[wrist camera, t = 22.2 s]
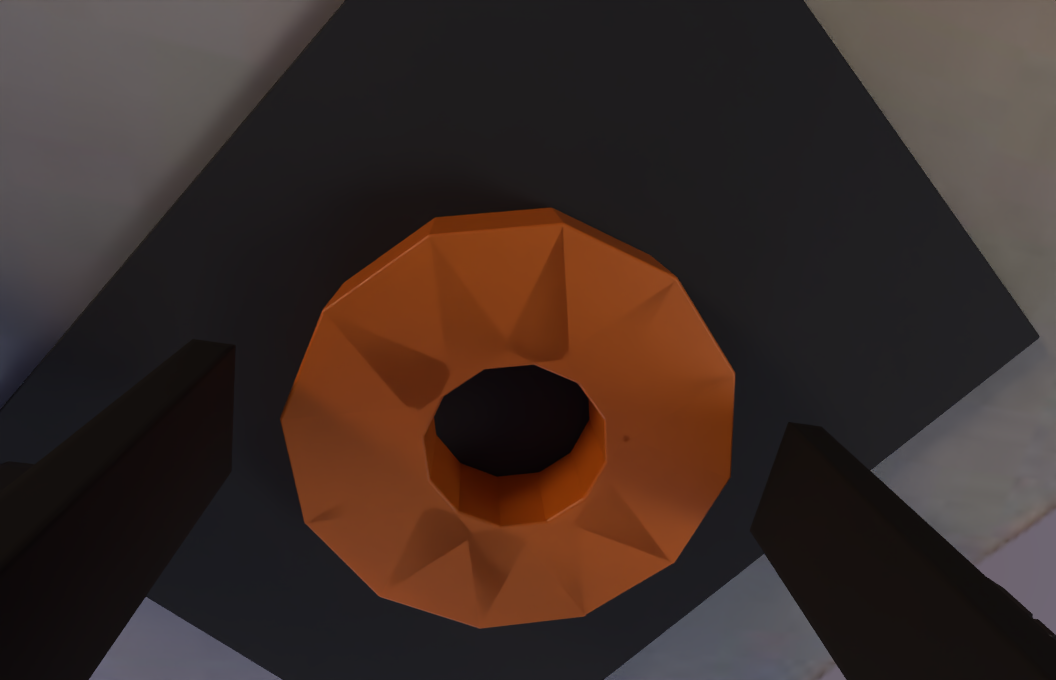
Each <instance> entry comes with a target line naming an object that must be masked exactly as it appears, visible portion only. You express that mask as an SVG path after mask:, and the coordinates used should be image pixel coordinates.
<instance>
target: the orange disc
mask: <svg viewBox="0 0 1056 680" xmlns="http://www.w3.org/2000/svg"><path fill="white" fill-rule="evenodd" d="M524 365H536V366H538V367H541V368H543V369H545V370H548V371H550V372H552V373H555V374H557V375H560V376H562V377H564V378H567V379H569V380H571V381H574V382H576V383H578V384H579V386H580V387H581V389H582V390H583V391H584V393H585V394H586V396H587V397H588V398H589V421H588V423H587V424H586V426H585V428H584V430H583V431H582V433H581V435H580V437H579V439H578V440H577V442H576V444H575V446H574V448H573V449H572V451H571V453H569V454H567V455H566V456H564V457H563V458H561V459H559V460H558V461H556V462H555V463H553V464H552V465H550V466H548V467H547V468H545V469H544V470H542V471H540V472H537V473H528V474H518V475H508V476H499V477H496V476H494V475H491V474H488V473H486V472H483V471H480V470H478V469H475V468H472V467H470V466H467V465H464V464H462V463H460V462H459V461H458V460H457V458H456V457H455V456H454V455H453V454H452V453H451V451H450V450H449V449H448V448H447V447H446V446H445V444H444V443H443V442H442V441H441V440H440V438H439V437H438V436H437V435H436V429H435V422H434V416H435V413H436V411H437V409H438V407H439V405H440V403H441V401H442V399H443V397H444V396H445V395H447V394H448V393H450V392H451V391H453V390H454V389H456V388H457V387H459V386H460V385H462V384H463V383H465V382H466V381H468V380H469V379H471V378H472V377H474V376H475V375H477V374H478V373H480V372H481V371H483V370H484V369H493V368H504V367H514V366H524ZM734 393H735V371H734V370H733V368H732V366H731V365H730V363H729V361H728V360H727V358H726V356H725V355H724V353H723V352H722V350H721V348H720V347H719V345H718V343H717V342H716V340H715V338H714V337H713V335H712V333H711V332H710V330H709V329H708V327H707V325H706V324H705V322H704V320H703V319H702V317H701V315H700V314H699V312H698V310H697V309H696V307H695V305H694V304H693V302H692V301H691V299H690V297H689V296H688V294H687V292H686V291H685V289H684V287H683V286H682V284H681V282H680V281H679V279H678V278H677V277H676V276H675V275H674V274H673V273H671V272H670V271H669V270H668V269H667V268H665V267H664V266H663V265H662V264H660V263H659V262H658V261H657V260H656V259H654V258H653V257H652V256H651V255H649V254H647V253H645V252H643V251H641V250H639V249H636V248H634V247H632V246H630V245H628V244H626V243H624V242H622V241H620V240H618V239H616V238H614V237H612V236H610V235H608V234H606V233H603V232H601V231H599V230H597V229H595V228H593V227H591V226H589V225H587V224H585V223H583V222H581V221H579V220H577V219H575V218H573V217H570V216H568V215H566V214H564V213H562V212H560V211H558V210H556V209H554V208H539V209H527V210H515V211H504V212H492V213H480V214H468V215H457V216H445V217H436V218H434V219H432V220H431V221H429V222H428V223H427V224H425V225H424V226H422V227H421V228H420V229H418V230H417V231H415V232H414V233H413V234H411V235H410V236H408V237H407V238H406V239H404V240H403V241H401V242H400V243H399V244H397V245H396V246H394V247H393V248H392V249H390V250H389V251H387V252H386V253H385V254H383V255H382V256H380V257H379V258H378V259H376V260H375V261H373V262H372V263H371V264H369V265H368V266H366V267H365V268H364V269H362V270H361V271H359V272H358V273H357V274H355V275H354V276H352V277H351V278H350V279H348V280H347V281H345V282H344V283H343V284H342V286H341V287H340V288H339V289H338V291H337V292H336V293H335V295H334V296H333V297H332V298H331V300H330V301H329V302H328V303H327V305H326V306H325V307H324V308H323V310H322V312H321V315H320V317H319V320H318V322H317V325H316V328H315V330H314V333H313V335H312V338H311V340H310V343H309V345H308V348H307V350H306V353H305V355H304V358H303V360H302V363H301V365H300V368H299V371H298V373H297V376H296V378H295V381H294V383H293V386H292V388H291V391H290V393H289V396H288V398H287V401H286V403H285V406H284V409H283V411H282V414H281V416H280V421H281V425H282V430H283V434H284V438H285V442H286V447H287V451H288V455H289V459H290V464H291V468H292V472H293V477H294V481H295V485H296V489H297V494H298V498H299V502H300V506H301V511H302V515H303V519H304V523H305V524H306V525H307V526H308V527H309V528H310V529H311V530H312V531H313V532H314V533H315V534H317V535H318V536H319V537H320V538H321V539H322V540H323V541H324V542H325V543H326V544H327V545H328V546H329V547H330V548H331V549H332V550H333V551H334V552H335V553H336V554H337V555H338V556H339V557H340V558H341V559H342V560H343V561H344V562H345V563H346V564H347V565H348V566H349V567H350V568H351V569H352V570H353V571H354V572H355V573H356V574H357V575H358V576H359V577H360V578H361V579H362V580H363V581H364V582H365V583H366V584H367V585H368V586H369V587H370V588H371V589H372V590H373V591H374V592H375V593H376V594H377V595H378V596H379V597H382V598H385V599H388V600H391V601H394V602H398V603H401V604H404V605H407V606H410V607H413V608H417V609H420V610H423V611H426V612H429V613H432V614H436V615H439V616H442V617H445V618H448V619H451V620H455V621H458V622H461V623H464V624H467V625H470V626H474V627H477V628H479V629H481V628H489V627H498V626H507V625H515V624H524V623H532V622H541V621H550V620H558V619H567V618H576V617H584V616H586V614H588V613H589V612H591V611H593V610H595V609H596V608H598V607H600V606H601V605H603V604H605V603H606V602H608V601H610V600H612V599H613V598H615V597H617V596H618V595H620V594H622V593H624V592H625V591H627V590H629V589H630V588H632V587H634V586H635V585H637V584H639V583H641V582H642V581H644V580H646V579H647V578H649V577H651V576H652V575H654V574H656V573H658V572H659V571H661V570H663V569H664V568H666V567H668V566H669V565H671V564H673V563H675V561H676V560H677V558H678V557H679V555H680V554H681V552H682V551H683V549H684V548H685V546H686V545H687V543H688V542H689V540H690V539H691V537H692V535H693V534H694V532H695V531H696V529H697V528H698V526H699V525H700V523H701V522H702V520H703V519H704V517H705V516H706V514H707V513H708V511H709V510H710V508H711V507H712V505H713V503H714V502H715V500H716V499H717V497H718V496H719V494H720V493H721V491H722V490H723V488H724V487H725V485H726V484H727V482H728V481H729V479H730V478H731V460H732V438H733V415H734Z"/></svg>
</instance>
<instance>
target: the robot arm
mask: <svg viewBox="0 0 1056 680" xmlns="http://www.w3.org/2000/svg"><path fill="white" fill-rule="evenodd" d="M235 351H236V345H233V344H226V343H219V342H212V341H204V340H197V339H192V340H191V341H189V342H188V343H187V344H186V345H184V346H183V347H182V348H181V349H179V350H178V351H177V352H176V353H174V354H173V355H172V356H171V357H169V358H168V359H167V360H166V361H164V362H163V363H162V364H160V365H159V366H158V367H157V368H155V369H154V370H153V371H152V372H150V373H149V374H148V375H147V376H145V377H144V378H143V379H142V380H140V381H139V382H138V383H137V384H135V385H134V386H133V387H132V388H130V389H129V390H128V391H126V392H125V393H124V394H123V395H121V396H120V397H119V398H118V399H116V400H115V401H114V402H113V403H111V404H110V405H109V406H108V407H106V408H105V409H104V410H103V411H101V412H100V413H99V414H98V415H96V416H95V417H94V418H92V419H91V420H90V421H89V422H87V423H86V424H85V425H84V426H82V427H81V428H80V429H79V430H77V431H76V432H75V433H74V434H72V435H71V436H70V437H69V438H67V439H66V440H65V441H64V442H62V443H61V444H60V445H58V446H57V447H56V448H55V449H53V450H52V451H51V452H50V453H48V454H47V455H46V456H45V457H43V458H42V459H41V460H40V461H38V462H37V463H36V464H29V463H20V462H11V461H8V462H5V463H3V464H0V680H89V678H90V677H91V675H92V674H93V673H94V671H95V670H96V668H97V667H98V665H99V664H100V662H101V661H102V659H103V658H104V656H105V655H106V654H107V652H108V651H109V649H110V648H111V646H112V645H113V643H114V642H115V640H116V639H117V638H118V636H119V635H120V633H121V632H122V630H123V629H124V627H125V626H126V624H127V623H128V622H129V620H130V619H131V617H132V616H133V614H134V613H135V611H136V610H137V608H138V607H139V605H140V604H141V603H142V601H143V600H144V598H145V597H146V595H147V594H148V592H149V591H150V589H151V588H152V587H153V585H154V584H155V582H156V581H157V579H158V578H159V576H160V575H161V573H162V572H163V571H164V569H165V568H166V566H167V565H168V563H169V562H170V560H171V559H172V557H173V556H174V555H175V553H176V552H177V550H178V549H179V547H180V546H181V544H182V543H183V541H184V540H185V538H186V537H187V536H188V534H189V533H190V531H191V530H192V528H193V527H194V525H195V524H196V522H197V521H198V520H199V518H200V517H201V515H202V514H203V512H204V511H205V509H206V508H207V506H208V505H209V504H210V502H211V501H212V499H213V498H214V496H215V495H216V493H217V492H218V490H219V489H220V487H221V486H222V485H223V483H224V482H225V480H226V479H227V477H228V476H229V474H230V473H231V470H232V440H233V410H234V380H235ZM750 532H751V533H752V535H753V537H754V538H755V540H756V541H757V543H758V544H759V546H760V547H761V549H762V550H763V552H764V553H765V555H766V557H767V558H768V560H769V561H770V563H771V564H772V566H773V567H774V569H775V570H776V572H777V573H778V575H779V577H780V578H781V580H782V581H783V583H784V584H785V586H786V587H787V589H788V590H789V592H790V593H791V595H792V597H793V598H794V600H795V601H796V603H797V604H798V606H799V607H800V609H801V610H802V612H803V614H804V615H805V617H806V618H807V620H808V621H809V623H810V624H811V626H812V627H813V629H814V630H815V632H816V634H817V635H818V637H819V638H820V640H821V641H822V643H823V644H824V646H825V647H826V649H827V650H828V652H829V654H830V655H831V657H832V658H833V660H834V661H835V663H836V664H837V666H838V667H839V669H840V670H841V672H842V673H843V675H844V677H845V678H846V679H847V680H1056V635H1055V634H1054V633H1053V632H1052V631H1051V630H1049V629H1048V628H1047V627H1046V626H1045V625H1044V624H1043V623H1042V622H1041V621H1039V620H1038V619H1033V617H1032V613H1031V612H1030V611H1028V610H1027V609H1026V608H1025V607H1024V606H1023V605H1022V604H1021V603H1020V602H1018V601H1017V600H1016V599H1015V598H1014V597H1013V596H1012V595H1011V594H1010V593H1008V592H1007V591H1006V590H1005V589H1004V588H1003V587H1001V586H1000V585H998V584H996V583H995V582H993V581H992V580H990V579H989V578H987V577H985V575H984V574H982V573H981V572H980V571H979V570H978V569H977V568H976V567H975V566H974V565H973V564H972V563H970V562H969V561H968V560H967V559H966V558H965V557H964V556H963V555H962V554H961V553H959V552H958V551H957V550H956V549H955V548H954V547H953V546H952V545H951V544H950V543H949V542H947V541H946V540H945V539H944V538H943V537H942V536H941V535H940V534H939V533H938V532H937V531H935V530H934V529H933V528H932V527H931V526H930V525H929V524H928V523H927V522H926V521H924V520H923V519H922V518H921V517H920V516H919V515H918V514H917V513H916V512H915V511H914V510H912V509H911V508H910V507H909V506H908V505H907V504H906V503H905V502H904V501H903V500H902V499H900V498H899V497H898V496H897V495H896V494H895V493H894V492H893V491H892V490H891V489H889V488H888V487H887V486H886V485H885V484H884V483H883V482H882V481H881V480H880V479H879V478H877V477H876V476H875V475H874V474H873V473H872V472H871V471H870V470H869V469H868V468H866V467H865V466H864V465H863V464H862V463H861V462H860V461H859V460H858V459H857V458H856V457H854V456H853V455H852V454H851V453H850V452H849V451H848V450H847V449H846V448H845V447H844V446H842V445H841V444H840V443H839V442H838V441H837V440H836V439H835V438H834V437H833V436H831V435H830V434H829V433H828V432H827V431H826V430H825V429H824V428H823V427H822V426H814V425H807V424H800V423H793V422H788V424H787V427H786V430H785V432H784V435H783V438H782V441H781V444H780V447H779V449H778V452H777V455H776V458H775V461H774V463H773V466H772V469H771V472H770V475H769V477H768V480H767V483H766V486H765V489H764V491H763V494H762V497H761V500H760V503H759V505H758V508H757V511H756V514H755V517H754V520H753V522H752V525H751V528H750Z"/></svg>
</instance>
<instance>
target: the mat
mask: <svg viewBox="0 0 1056 680" xmlns="http://www.w3.org/2000/svg"><path fill="white" fill-rule="evenodd" d="M539 208H554V209H556V210H558V211H560V212H562V213H564V214H566V215H568V216H570V217H573V218H575V219H577V220H579V221H581V222H583V223H585V224H587V225H589V226H591V227H593V228H595V229H597V230H599V231H601V232H603V233H606V234H608V235H610V236H612V237H614V238H616V239H618V240H620V241H622V242H624V243H626V244H628V245H630V246H632V247H634V248H636V249H639V250H641V251H643V252H645V253H647V254H649V255H651V256H652V257H653V258H654V259H656V260H657V261H658V262H659V263H660V264H662V265H663V266H664V267H665V268H667V269H668V270H669V271H670V272H671V273H673V274H674V275H675V276H676V277H677V278H678V279H679V281H680V282H681V284H682V286H683V287H684V289H685V291H686V292H687V294H688V296H689V297H690V299H691V301H692V302H693V304H694V305H695V307H696V309H697V310H698V312H699V314H700V315H701V317H702V319H703V320H704V322H705V324H706V325H707V327H708V329H709V330H710V332H711V333H712V335H713V337H714V338H715V340H716V342H717V343H718V345H719V347H720V348H721V350H722V352H723V353H724V355H725V356H726V358H727V360H728V361H729V363H730V365H731V366H732V368H733V370H734V371H735V393H734V415H733V438H732V460H731V478H730V479H729V481H728V482H727V484H726V485H725V487H724V488H723V490H722V491H721V493H720V494H719V496H718V497H717V499H716V500H715V502H714V503H713V505H712V507H711V508H710V510H709V511H708V513H707V514H706V516H705V517H704V519H703V520H702V522H701V523H700V525H699V526H698V528H697V529H696V531H695V532H694V534H693V535H692V537H691V539H690V540H689V542H688V543H687V545H686V546H685V548H684V549H683V551H682V552H681V554H680V555H679V557H678V558H677V560H676V561H675V563H673V564H671V565H669V566H668V567H666V568H664V569H663V570H661V571H659V572H658V573H656V574H654V575H652V576H651V577H649V578H647V579H646V580H644V581H642V582H641V583H639V584H637V585H635V586H634V587H632V588H630V589H629V590H627V591H625V592H624V593H622V594H620V595H618V596H617V597H615V598H613V599H612V600H610V601H608V602H606V603H605V604H603V605H601V606H600V607H598V608H596V609H595V610H593V611H591V612H589V613H588V614H586V616H584V617H576V618H567V619H558V620H550V621H541V622H532V623H524V624H515V625H507V626H498V627H489V628H481V629H479V628H477V627H474V626H470V625H467V624H464V623H461V622H458V621H455V620H451V619H448V618H445V617H442V616H439V615H436V614H432V613H429V612H426V611H423V610H420V609H417V608H413V607H410V606H407V605H404V604H401V603H398V602H394V601H391V600H388V599H385V598H382V597H379V596H378V595H377V594H376V593H375V592H374V591H373V590H372V589H371V588H370V587H369V586H368V585H367V584H366V583H365V582H364V581H363V580H362V579H361V578H360V577H359V576H358V575H357V574H356V573H355V572H354V571H353V570H352V569H351V568H350V567H349V566H348V565H347V564H346V563H345V562H344V561H343V560H342V559H341V558H340V557H339V556H338V555H337V554H336V553H335V552H334V551H333V550H332V549H331V548H330V547H329V546H328V545H327V544H326V543H325V542H324V541H323V540H322V539H321V538H320V537H319V536H318V535H317V534H315V533H314V532H313V531H312V530H311V529H310V528H309V527H308V526H307V525H306V524H305V523H304V519H303V515H302V511H301V506H300V502H299V498H298V494H297V489H296V485H295V481H294V477H293V472H292V468H291V464H290V459H289V455H288V451H287V447H286V442H285V438H284V434H283V430H282V425H281V421H280V416H281V414H282V411H283V409H284V406H285V403H286V401H287V398H288V396H289V393H290V391H291V388H292V386H293V383H294V381H295V378H296V376H297V373H298V371H299V368H300V365H301V363H302V360H303V358H304V355H305V353H306V350H307V348H308V345H309V343H310V340H311V338H312V335H313V333H314V330H315V328H316V325H317V322H318V320H319V317H320V315H321V312H322V310H323V308H324V307H325V306H326V305H327V303H328V302H329V301H330V300H331V298H332V297H333V296H334V295H335V293H336V292H337V291H338V289H339V288H340V287H341V286H342V284H343V283H344V282H345V281H347V280H348V279H350V278H351V277H352V276H354V275H355V274H357V273H358V272H359V271H361V270H362V269H364V268H365V267H366V266H368V265H369V264H371V263H372V262H373V261H375V260H376V259H378V258H379V257H380V256H382V255H383V254H385V253H386V252H387V251H389V250H390V249H392V248H393V247H394V246H396V245H397V244H399V243H400V242H401V241H403V240H404V239H406V238H407V237H408V236H410V235H411V234H413V233H414V232H415V231H417V230H418V229H420V228H421V227H422V226H424V225H425V224H427V223H428V222H429V221H431V220H432V219H434V218H436V217H445V216H457V215H468V214H480V213H492V212H504V211H515V210H527V209H539ZM1038 338H1039V335H1038V333H1037V332H1036V330H1035V329H1034V328H1033V326H1032V325H1031V323H1030V322H1029V321H1028V319H1027V318H1026V316H1025V315H1024V313H1023V312H1022V311H1021V309H1020V308H1019V306H1018V305H1017V303H1016V302H1015V301H1014V299H1013V298H1012V296H1011V295H1010V293H1009V292H1008V291H1007V289H1006V288H1005V286H1004V285H1003V284H1002V282H1001V281H1000V279H999V278H998V276H997V275H996V274H995V272H994V271H993V269H992V268H991V266H990V265H989V264H988V262H987V261H986V259H985V258H984V257H983V255H982V254H981V252H980V251H979V249H978V248H977V247H976V245H975V244H974V242H973V241H972V239H971V238H970V237H969V235H968V234H967V232H966V231H965V230H964V228H963V227H962V225H961V224H960V222H959V221H958V220H957V218H956V217H955V215H954V214H953V212H952V211H951V210H950V208H949V207H948V205H947V204H946V202H945V201H944V200H943V198H942V197H941V195H940V194H939V193H938V191H937V190H936V188H935V187H934V185H933V184H932V183H931V181H930V180H929V178H928V177H927V175H926V174H925V173H924V171H923V170H922V168H921V167H920V166H919V164H918V163H917V161H916V160H915V158H914V157H913V156H912V154H911V153H910V151H909V150H908V148H907V147H906V146H905V144H904V143H903V141H902V140H901V139H900V137H899V136H898V134H897V133H896V131H895V130H894V129H893V127H892V126H891V124H890V123H889V121H888V120H887V119H886V117H885V116H884V114H883V113H882V111H881V110H880V109H879V107H878V106H877V104H876V103H875V102H874V100H873V99H872V97H871V96H870V94H869V93H868V92H867V90H866V89H865V87H864V86H863V84H862V83H861V82H860V80H859V79H858V77H857V76H856V75H855V73H854V72H853V70H852V69H851V67H850V66H849V65H848V63H847V62H846V60H845V59H844V57H843V56H842V55H841V53H840V52H839V50H838V49H837V48H836V46H835V45H834V43H833V42H832V40H831V39H830V38H829V36H828V35H827V33H826V32H825V30H824V29H823V28H822V26H821V25H820V23H819V22H818V20H817V19H816V18H815V16H814V15H813V13H812V12H811V11H810V9H809V8H808V6H807V5H806V3H805V2H804V1H803V0H345V1H344V3H343V4H342V5H341V6H340V7H339V9H338V10H337V11H336V12H335V13H334V14H333V16H332V17H331V18H330V19H329V20H328V22H327V23H326V24H325V25H324V26H323V28H322V29H321V30H320V31H319V32H318V33H317V35H316V36H315V37H314V38H313V39H312V41H311V42H310V43H309V44H308V45H307V47H306V48H305V49H304V50H303V51H302V52H301V54H300V55H299V56H298V57H297V58H296V60H295V61H294V62H293V63H292V64H291V66H290V67H289V68H288V69H287V70H286V71H285V73H284V74H283V75H282V76H281V77H280V79H279V80H278V81H277V82H276V83H275V84H274V86H273V87H272V88H271V89H270V90H269V92H268V93H267V94H266V95H265V96H264V98H263V99H262V100H261V101H260V102H259V103H258V105H257V106H256V107H255V108H254V109H253V111H252V112H251V113H250V114H249V115H248V117H247V118H246V119H245V120H244V121H243V122H242V124H241V125H240V126H239V127H238V128H237V130H236V131H235V132H234V133H233V134H232V136H231V137H230V138H229V139H228V140H227V141H226V143H225V144H224V145H223V146H222V147H221V149H220V150H219V151H218V152H217V153H216V155H215V156H214V157H213V158H212V159H211V160H210V162H209V163H208V164H207V165H206V166H205V168H204V169H203V170H202V171H201V172H200V174H199V175H198V176H197V177H196V178H195V179H194V181H193V182H192V183H191V184H190V185H189V187H188V188H187V189H186V190H185V191H184V193H183V194H182V195H181V196H180V197H179V198H178V200H177V201H176V202H175V203H174V204H173V206H172V207H171V208H170V209H169V210H168V212H167V213H166V214H165V215H164V216H163V217H162V219H161V220H160V221H159V222H158V223H157V225H156V226H155V227H154V228H153V229H152V230H151V232H150V233H149V234H148V235H147V236H146V238H145V239H144V240H143V241H142V242H141V244H140V245H139V246H138V247H137V248H136V249H135V251H134V252H133V253H132V254H131V255H130V257H129V258H128V259H127V260H126V261H125V263H124V264H123V265H122V266H121V267H120V268H119V270H118V271H117V272H116V273H115V274H114V276H113V277H112V278H111V279H110V280H109V282H108V283H107V284H106V285H105V286H104V287H103V289H102V290H101V291H100V292H99V293H98V295H97V296H96V297H95V298H94V299H93V301H92V302H91V303H90V304H89V305H88V306H87V308H86V309H85V310H84V311H83V312H82V314H81V315H80V316H79V317H78V318H77V320H76V321H75V322H74V323H73V324H72V325H71V327H70V328H69V329H68V330H67V331H66V333H65V334H64V335H63V336H62V337H61V339H60V340H59V341H58V342H57V343H56V344H55V346H54V347H53V348H52V349H51V350H50V352H49V353H48V354H47V355H46V356H45V358H44V359H43V360H42V361H41V362H40V363H39V365H38V366H37V367H36V368H35V369H34V371H33V372H32V373H31V374H30V375H29V376H28V378H27V379H26V380H25V381H24V382H23V384H22V385H21V386H20V387H19V388H18V390H17V391H16V392H15V393H14V394H13V395H12V397H11V398H10V399H9V400H8V401H7V403H6V404H5V405H4V406H3V407H2V409H1V410H0V464H3V463H5V462H8V461H11V462H20V463H29V464H36V463H37V462H38V461H40V460H41V459H42V458H43V457H45V456H46V455H47V454H48V453H50V452H51V451H52V450H53V449H55V448H56V447H57V446H58V445H60V444H61V443H62V442H64V441H65V440H66V439H67V438H69V437H70V436H71V435H72V434H74V433H75V432H76V431H77V430H79V429H80V428H81V427H82V426H84V425H85V424H86V423H87V422H89V421H90V420H91V419H92V418H94V417H95V416H96V415H98V414H99V413H100V412H101V411H103V410H104V409H105V408H106V407H108V406H109V405H110V404H111V403H113V402H114V401H115V400H116V399H118V398H119V397H120V396H121V395H123V394H124V393H125V392H126V391H128V390H129V389H130V388H132V387H133V386H134V385H135V384H137V383H138V382H139V381H140V380H142V379H143V378H144V377H145V376H147V375H148V374H149V373H150V372H152V371H153V370H154V369H155V368H157V367H158V366H159V365H160V364H162V363H163V362H164V361H166V360H167V359H168V358H169V357H171V356H172V355H173V354H174V353H176V352H177V351H178V350H179V349H181V348H182V347H183V346H184V345H186V344H187V343H188V342H189V341H191V340H192V339H197V340H204V341H212V342H219V343H226V344H233V345H236V351H235V380H234V410H233V440H232V470H231V473H230V474H229V476H228V477H227V479H226V480H225V482H224V483H223V485H222V486H221V487H220V489H219V490H218V492H217V493H216V495H215V496H214V498H213V499H212V501H211V502H210V504H209V505H208V506H207V508H206V509H205V511H204V512H203V514H202V515H201V517H200V518H199V520H198V521H197V522H196V524H195V525H194V527H193V528H192V530H191V531H190V533H189V534H188V536H187V537H186V538H185V540H184V541H183V543H182V544H181V546H180V547H179V549H178V550H177V552H176V553H175V555H174V556H173V557H172V559H171V560H170V562H169V563H168V565H167V566H166V568H165V569H164V571H163V572H162V573H161V575H160V576H159V578H158V579H157V581H156V582H155V584H154V585H153V587H152V588H151V589H150V591H149V592H148V594H147V595H146V597H148V598H149V599H151V600H153V601H154V602H156V603H157V604H159V605H161V606H162V607H164V608H166V609H167V610H169V611H171V612H172V613H174V614H176V615H177V616H179V617H181V618H182V619H184V620H185V621H187V622H189V623H190V624H192V625H194V626H195V627H197V628H199V629H200V630H202V631H204V632H205V633H207V634H208V635H210V636H212V637H213V638H215V639H217V640H218V641H220V642H222V643H223V644H225V645H227V646H228V647H230V648H232V649H233V650H235V651H236V652H238V653H240V654H241V655H243V656H245V657H246V658H248V659H250V660H251V661H253V662H255V663H256V664H258V665H260V666H261V667H263V668H264V669H266V670H268V671H269V672H271V673H273V674H274V675H276V676H278V677H279V678H281V679H283V680H604V679H605V678H606V677H608V676H609V675H610V674H611V673H613V672H614V671H615V670H616V669H618V668H619V667H620V666H622V665H623V664H624V663H625V662H627V661H628V660H629V659H630V658H632V657H633V656H634V655H636V654H637V653H638V652H639V651H641V650H642V649H643V648H644V647H646V646H647V645H648V644H650V643H651V642H652V641H653V640H655V639H656V638H657V637H659V636H660V635H661V634H662V633H664V632H665V631H666V630H667V629H669V628H670V627H671V626H673V625H674V624H675V623H676V622H678V621H679V620H680V619H681V618H683V617H684V616H685V615H687V614H688V613H689V612H690V611H692V610H693V609H694V608H695V607H697V606H698V605H699V604H701V603H702V602H703V601H704V600H706V599H707V598H708V597H709V596H711V595H712V594H713V593H715V592H716V591H717V590H718V589H720V588H721V587H722V586H723V585H725V584H726V583H727V582H729V581H730V580H731V579H732V578H734V577H735V576H736V575H738V574H739V573H740V572H741V571H743V570H744V569H745V568H746V567H748V566H749V565H750V564H752V563H753V562H754V561H755V560H757V559H758V558H759V557H760V556H762V555H763V554H764V552H763V550H762V549H761V547H760V546H759V544H758V543H757V541H756V540H755V538H754V537H753V535H752V533H751V532H750V528H751V525H752V522H753V520H754V517H755V514H756V511H757V508H758V505H759V503H760V500H761V497H762V494H763V491H764V489H765V486H766V483H767V480H768V477H769V475H770V472H771V469H772V466H773V463H774V461H775V458H776V455H777V452H778V449H779V447H780V444H781V441H782V438H783V435H784V432H785V430H786V427H787V424H788V422H793V423H800V424H807V425H814V426H822V427H823V428H824V429H825V430H826V431H827V432H828V433H829V434H830V435H831V436H833V437H834V438H835V439H836V440H837V441H838V442H839V443H840V444H841V445H842V446H844V447H845V448H846V449H847V450H848V451H849V452H850V453H851V454H852V455H853V456H854V457H856V458H857V459H858V460H859V461H860V462H861V463H862V464H863V465H864V466H865V467H866V468H868V469H869V470H871V469H873V468H874V467H875V466H876V465H878V464H879V463H880V462H881V461H883V460H884V459H885V458H887V457H888V456H889V455H890V454H892V453H893V452H894V451H896V450H897V449H898V448H899V447H901V446H902V445H903V444H904V443H906V442H907V441H908V440H910V439H911V438H912V437H913V436H915V435H916V434H917V433H918V432H920V431H921V430H922V429H924V428H925V427H926V426H927V425H929V424H930V423H931V422H932V421H934V420H935V419H936V418H938V417H939V416H940V415H941V414H943V413H944V412H945V411H946V410H948V409H949V408H950V407H952V406H953V405H954V404H955V403H957V402H958V401H959V400H960V399H962V398H963V397H964V396H966V395H967V394H968V393H969V392H971V391H972V390H973V389H975V388H976V387H977V386H978V385H980V384H981V383H982V382H983V381H985V380H986V379H987V378H989V377H990V376H991V375H992V374H994V373H995V372H996V371H997V370H999V369H1000V368H1001V367H1003V366H1004V365H1005V364H1006V363H1008V362H1009V361H1010V360H1011V359H1013V358H1014V357H1015V356H1017V355H1018V354H1019V353H1020V352H1022V351H1023V350H1024V349H1025V348H1027V347H1028V346H1029V345H1031V344H1032V343H1033V342H1034V341H1036V340H1037V339H1038ZM588 421H589V398H588V397H587V396H586V394H585V393H584V391H583V390H582V389H581V387H580V386H579V384H578V383H576V382H574V381H571V380H569V379H567V378H564V377H562V376H560V375H557V374H555V373H552V372H550V371H548V370H545V369H543V368H541V367H538V366H536V365H524V366H514V367H504V368H493V369H484V370H483V371H481V372H480V373H478V374H477V375H475V376H474V377H472V378H471V379H469V380H468V381H466V382H465V383H463V384H462V385H460V386H459V387H457V388H456V389H454V390H453V391H451V392H450V393H448V394H447V395H445V396H444V397H443V399H442V401H441V403H440V405H439V407H438V409H437V411H436V413H435V416H434V422H435V429H436V435H437V436H438V437H439V438H440V440H441V441H442V442H443V443H444V444H445V446H446V447H447V448H448V449H449V450H450V451H451V453H452V454H453V455H454V456H455V457H456V458H457V460H458V461H459V462H460V463H462V464H464V465H467V466H470V467H472V468H475V469H478V470H480V471H483V472H486V473H488V474H491V475H494V476H496V477H499V476H508V475H518V474H528V473H537V472H540V471H542V470H544V469H545V468H547V467H548V466H550V465H552V464H553V463H555V462H556V461H558V460H559V459H561V458H563V457H564V456H566V455H567V454H569V453H571V451H572V449H573V448H574V446H575V444H576V442H577V440H578V439H579V437H580V435H581V433H582V431H583V430H584V428H585V426H586V424H587V423H588Z"/></svg>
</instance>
